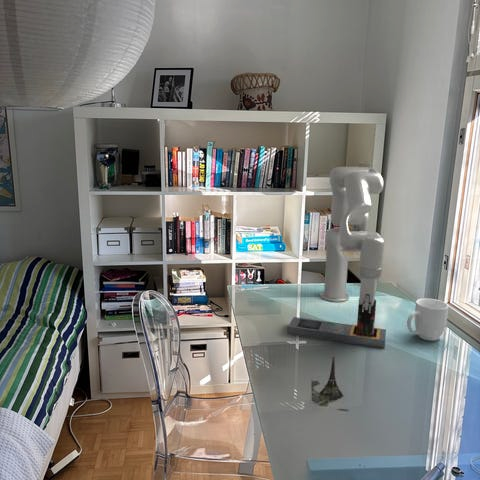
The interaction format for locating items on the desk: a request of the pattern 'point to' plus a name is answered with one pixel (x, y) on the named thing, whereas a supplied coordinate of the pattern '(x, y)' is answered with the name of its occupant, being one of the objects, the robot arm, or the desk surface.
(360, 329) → the deodorant
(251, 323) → the desk surface
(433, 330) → the mug
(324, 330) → the holder
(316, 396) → the eiffel tower figurine
